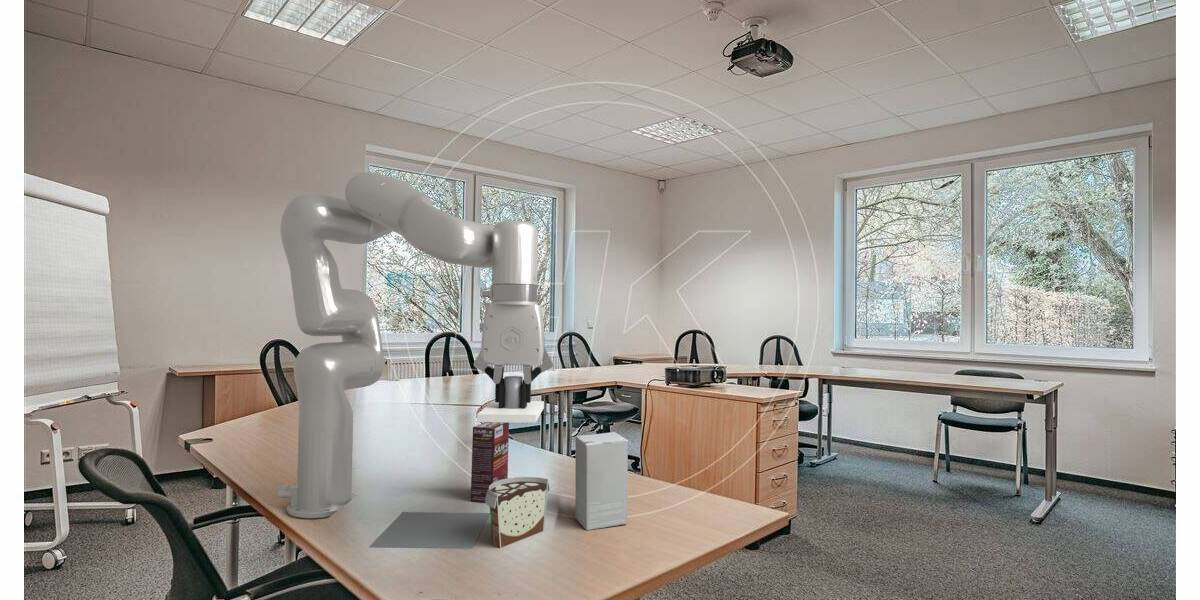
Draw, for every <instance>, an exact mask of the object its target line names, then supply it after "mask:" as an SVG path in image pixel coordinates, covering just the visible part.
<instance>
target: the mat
mask: <svg viewBox="0 0 1200 600" xmlns="http://www.w3.org/2000/svg"><path fill="white" fill-rule="evenodd" d="M489 518H490V512H441V511H439V512H436V511H434V512H431V511H430V512H429V511H428V512H427V511H426V512H425V511H402V512H401V513H400V514H399V515H398V516H397V518H395V519H394V520H393V521H392V522H391V524H389V526H388V527H386V529H385V530H383V532H382V533H381V534H380V535H379V536H378V537H376V539H375V540H373V542H372V543H371V544H370V545H369V547H368V548H382V549H383V548H389V549H390V548H392V549H397V548H399V549H401V548H402V549H454V550H455V549H458V550H459V549H460V550H461V549H463V550H467V549H468V550H470V549H471V550H473V547H474V546H475V544H476V542H477V540H478V538H479V537H480V534H481V533H482V531H483V529H484V527H485V525H486V524H487V521H488V520H489Z"/></svg>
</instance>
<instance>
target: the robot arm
mask: <svg viewBox="0 0 1200 600" xmlns="http://www.w3.org/2000/svg"><path fill="white" fill-rule="evenodd" d="M344 195H345V196H344V197H345V199H343V198H340V197H335V196H330V195H326V194H319V193H305V194H301V195H298V196H296V197H294V198H292V200H290V201H289V202H288V204H287V205H286V207H285V209H284V211H283V213H282V215H281V221H280V227H279V228H280V239H281V244H282V248H283V251H284V254H285V256H286V259H287V263H288V267H289V272H290V282H291V289H292V297H293V305H294V311H295V317H296V322H297V323H296V324H297V326H298V328H299V330H300V332H302V333H303V334H304V335H306V336H310V337H341V339H342V340H341V341H335V342H333V341H332V342H331V341H330V342H320V343H316V344H312V345H309V346H307V347H305V348H304V349H303V350H301V351H300V353H299V354H297V356H296V358H295V359H294V364H293V375H294V383H295V387H296V392H297V400H298V403H297V404H298V436H297V437H298V438H297V439H298V440H297V446H298V447H297V475H296V476H297V478H296V479H297V480H296V481H297V482H296V484H295V485H290V484H281V485H280V484H279V486H278V488H277V490H276V491H277V498H278V499H285V498H286V499H290V503H288V505H287V510H286V511H287V512H286V513H287V514H288V515H290V516H291V517H295V518H300V519H320V518H330V517H331V516H333V515H334V514H335V513H337V512H338V511H339V510H341V509H342V508H343V507H344V506H346V505H347V504H348V503H350V502H351V501H352V500H354V499H355V498H356V497H358V495H357V494H355V493H354V492H352V489H353V487H352V486H353V484H352V483H353V476H352V475H353V446H354V445H353V443H354V442H353V440H354V414H353V408H352V405H351V402H350V400H349V398H348V397H347V395H346V392H345V391H347V390H353V389H361V388H365V387H370V386H372V385H374V384H375V383H377V382H378V381H379V380H380V378H381V377H382V374H383V372H384V368H385V359H384V356H385V355H384V350H383V341H382V336H381V327H380V320H379V316H378V315H379V314H378V309H377V306H376V305H375V303H374V301H373V300H372V298H371V297H370V296H369V295H368V294H366V293H365V292H364V291H360V290H358V289H351V288H350V289H346V288H343V287H342V285H341V280H340V275H339V268H338V264H337V261H336V259H335V258H334V256H333V254H332V252H331V251H330V249H328V247H327V246H326V245H325V241H332V242H337V243H338V242H339V243H346V244H351V245H364V244H368V243H371V242H373V241H376V240H377V239H380V238H382V237H383V236H385V235H388V234H389V233H392V232H394V233H396V234H398V235H401V237H402V238H403V239H404V240H405V241H406V242H407V243H408V244H409V245H411V247H414V248H415V249H417V250H419V251H421V252H423V253H424V254H428V255H429V256H431V257H433V258H435V259H438V260H439V261H442V262H444V263H447V264H452V265H460V266H467V267H474V268H480V269H490V268H491V285H490V286H489V288H483V289H482V298H487V299H490V301H491V304H486V305H485V310H484V315H483V323H482V331H481V332H482V333H481V345H480V351H479V353H478V355H477V357H476V359H475V360H474V362H473V366H474V368H476V369H478V370H479V371H481V372H483V373H485V374H486V375H487V377H489V378H490V379H491V381H492V382H493V383H494V384H495V388H494V389H495V391H494V393H495V394H494V396H495V397H494V401H495V402H499V408H503V407H504V375H505V366H522V371H523V380H522V384H521V408H522V409H525V408H526V407H527V403H530V402H531V401H532V400H531V399H532V382H533V381H534V380H535V379H536V378H537V377H538V376H539V375H541V374H542V373H544V372H546V371H548V370H550V369H552V368H553V366H554V363H553V361H552V358H551V357H550V355H549V353H548V351H547V349H546V346H545V344H546V341H545V340H546V339H545V326H544V316H543V309H542V308H543V307H542V305H541V304H538V262H539V261H538V260H539V259H538V258H539V255H538V254H539V252H538V251H539V250H538V248H539V246H538V245H539V235H538V234H539V233H538V227H536V225H535V224H534V223H531V222H529V221H522V220H504V221H503V220H502V221H500V222H497V223H495V225H494V226H493V225H489V224H483V223H480V222H476V221H472V220H468V219H464V218H460V217H457V216H455V215H452V214H450V213H447V212H445V211H443V210H441V209H439V208H436V207H435V206H434V202H433V200H432V199H431V198H430V197H429V196H428V195H427V194H425V193H422V192H420V191H417V190H416V189H415V188H414V186H412V185H411V184H410V183H408V182H406V181H404V180H400V179H397V178H394V177H390V176H388V175H385V174H381V173H378V172H370V171H363V172H359V173H357V174H355V175H353V176H352V177H351V178H350V179H349V180H348V181H347V183H346V185H345V189H344ZM540 363H542V364H540ZM538 364H540V365H538ZM535 365H537V366H536V367H535V368H533V366H535Z"/></svg>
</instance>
